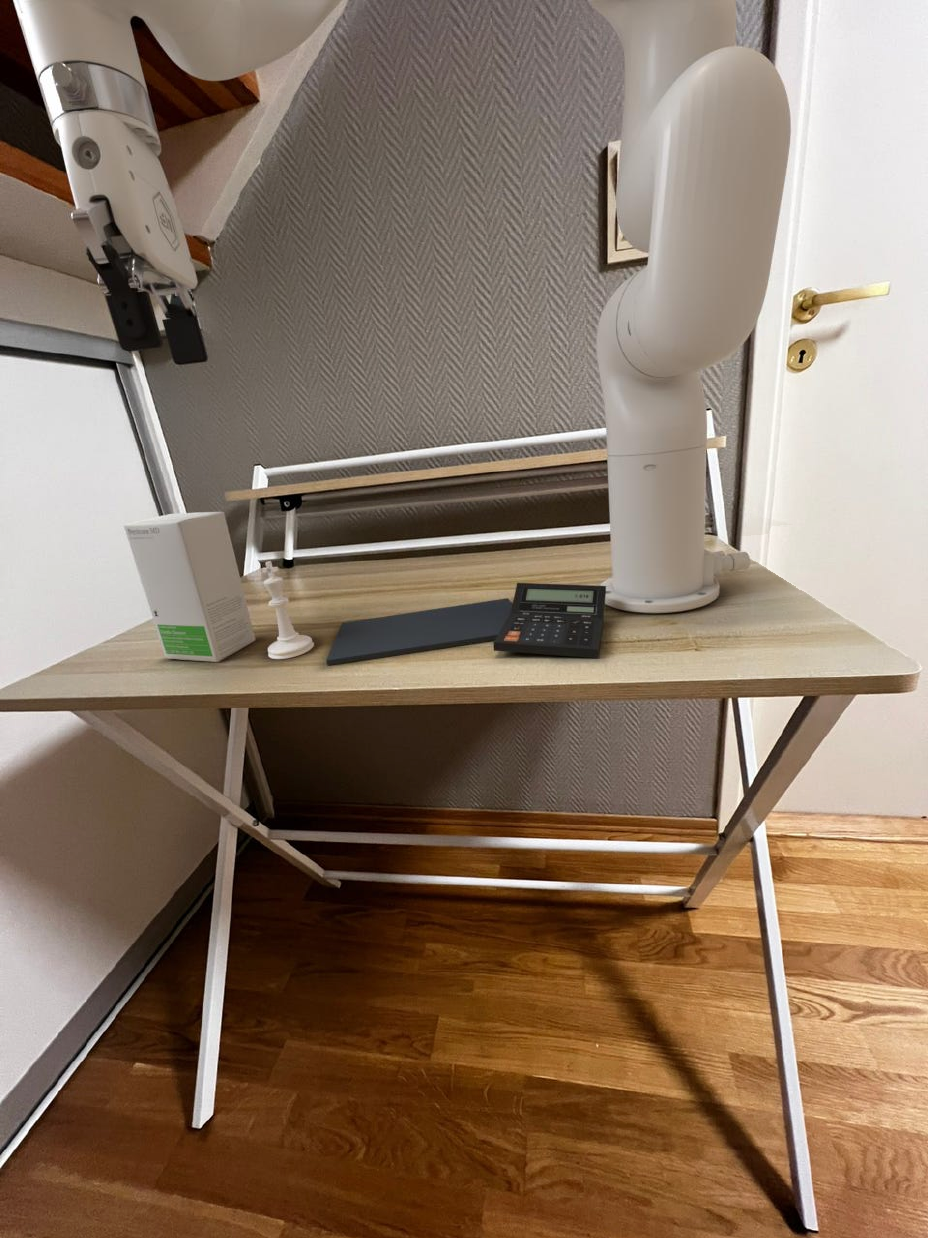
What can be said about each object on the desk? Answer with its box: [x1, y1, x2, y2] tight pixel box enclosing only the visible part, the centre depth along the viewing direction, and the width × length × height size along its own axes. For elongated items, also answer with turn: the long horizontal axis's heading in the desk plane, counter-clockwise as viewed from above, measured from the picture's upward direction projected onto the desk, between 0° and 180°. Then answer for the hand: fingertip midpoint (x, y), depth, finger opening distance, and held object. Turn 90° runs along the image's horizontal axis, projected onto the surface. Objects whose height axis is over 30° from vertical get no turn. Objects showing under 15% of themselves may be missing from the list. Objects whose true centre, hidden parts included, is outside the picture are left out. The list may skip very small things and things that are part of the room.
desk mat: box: [325, 597, 512, 666], centre depth 59 cm, size 20×11×1 cm, turn 94°
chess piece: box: [261, 560, 315, 660], centre depth 57 cm, size 5×5×10 cm
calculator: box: [492, 582, 606, 659], centre depth 53 cm, size 9×12×3 cm
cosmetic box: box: [123, 511, 256, 663], centre depth 60 cm, size 8×7×16 cm
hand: (169, 356), depth 49 cm, fingers open, 9 cm apart
